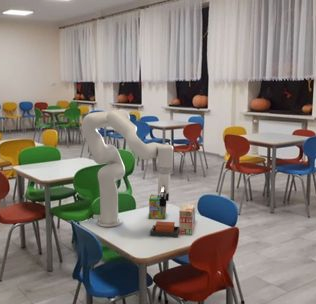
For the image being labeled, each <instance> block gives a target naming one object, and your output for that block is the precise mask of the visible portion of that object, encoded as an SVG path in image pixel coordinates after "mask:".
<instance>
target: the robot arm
mask: <svg viewBox="0 0 316 304" xmlns="http://www.w3.org/2000/svg"><path fill="white" fill-rule="evenodd" d="M110 127H111V128H112V129H113V130H114V131H116V133H118V134H119V135H120V136H121V137H122V138H123V139H124V140H125V143H126V145H127V146H128V148H129V149H130V151H131V152H132V153H133V154H135V155H136V157H138V158H139V159H141V160H143V161H149V160H152V159H156V158H157V165H156V166H157V167H156V168H157V169H156V171H157V172H156V173H157V174H158V180H157V181H158V182H157V195H158V194H159V195H160V203H159V206H161V207H166V208H167V202H169V200H170V187H171V175H172V174H173V173H174V146H173V145H171V144H167V143H166V144H165V143H159V142H155V141H154V142H148V143H145V142H144V141H142V140H141V139H140V137H139V136H138V135H137V131H138V126H137V125H136V124H134V123H133V122H132V121H131V116H130V113H129V112H128V111H127V110H125V109H123V108H121V109H120V108H119V109H112V110H105V111H103V110H102V111H96V112H95V111H94V112H91V113H88V114H86V115H84V116H83V119H82V121H81V125H80V129H81V133H82V135H83V137H84V139H85V141H86V144H87V146H88V149H89V152H90V154H91V156H92V158H93V159H92V160H93V161H94V162H95V163H96V164H97V165H103V164H106V165H104V166H102V167H101V168H99V170H98V171H97V182H98V187H99V214H92V218H93V220H97V225H99V226H100V227H105V228H111V227H117V226H120V225H122V219H120V218H119V192H118V191H119V190H118V187H117V183H116V182H117V181H120V180H121V179H123V178H124V177H125V175H126V168H125V164H124V162H123V159H122V158H121V154H120V152H119V150H118V148H117V147H116V146H115V145H113V144H111V143H108V144H107V143H105V140H104V138H103V136H102V134H101V133H100V132H99V131H98V129H102V128H110Z"/></svg>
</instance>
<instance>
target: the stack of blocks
mask: <svg viewBox="0 0 316 304" xmlns="http://www.w3.org/2000/svg"><path fill="white" fill-rule="evenodd" d="M178 213H179V217H178V218H179V219H178V222H179V223H178V224H179V226H178V227H179V235H183V236H185V235H186V236H192V234H193V232H194V226H195V222H196V204H194V203H181V206H180V209H179V212H178Z"/></svg>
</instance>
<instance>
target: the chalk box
mask: <svg viewBox="0 0 316 304" xmlns="http://www.w3.org/2000/svg"><path fill="white" fill-rule="evenodd" d="M148 201H149V202H148V218H149V219H150V220H152V219H154V220H166V217H167V206H166V207H161V206H159V203H160V193H159V194H158V193H157V194H150V195H149V199H148Z"/></svg>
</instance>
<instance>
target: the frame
mask: <svg viewBox="0 0 316 304" xmlns="http://www.w3.org/2000/svg"><path fill="white" fill-rule="evenodd" d="M149 233H150V235H149V236H150V237H163V238H164V237H166V238H179V235H180V234H179V226H177V225H176V226H175V231H174V233H173V232H155V224H153V225H152V227H151V229H150V232H149Z"/></svg>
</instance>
